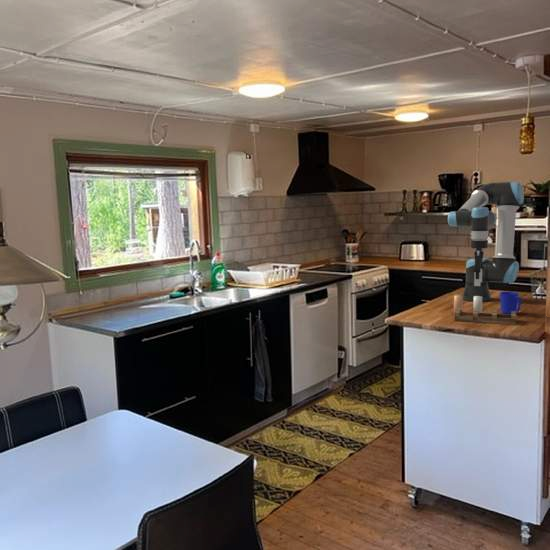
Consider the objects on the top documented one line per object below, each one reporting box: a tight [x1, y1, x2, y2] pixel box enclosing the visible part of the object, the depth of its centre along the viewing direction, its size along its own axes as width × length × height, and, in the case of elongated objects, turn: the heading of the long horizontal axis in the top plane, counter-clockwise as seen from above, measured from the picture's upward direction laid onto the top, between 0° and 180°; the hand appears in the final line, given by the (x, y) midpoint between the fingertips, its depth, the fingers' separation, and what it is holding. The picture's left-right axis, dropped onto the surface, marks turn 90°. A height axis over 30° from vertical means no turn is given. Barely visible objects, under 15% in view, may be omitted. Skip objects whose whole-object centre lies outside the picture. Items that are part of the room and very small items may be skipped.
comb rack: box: [454, 308, 517, 326], centre depth 250 cm, size 10×26×4 cm, turn 66°
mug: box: [499, 291, 522, 314], centre depth 262 cm, size 8×12×10 cm
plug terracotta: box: [453, 294, 463, 315], centre depth 266 cm, size 4×4×9 cm
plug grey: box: [472, 296, 483, 313], centre depth 262 cm, size 4×4×9 cm
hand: (478, 284), depth 261 cm, fingers open, 13 cm apart
